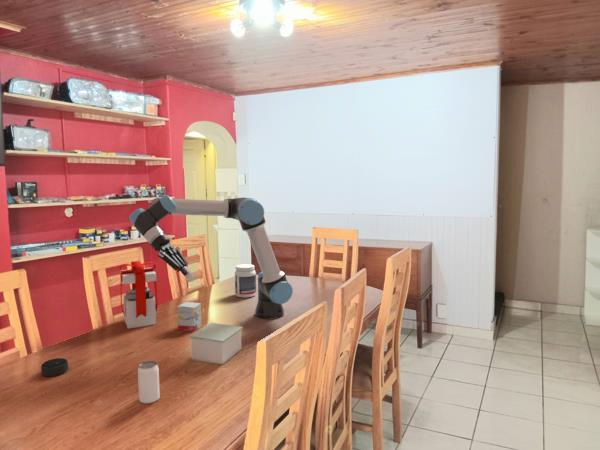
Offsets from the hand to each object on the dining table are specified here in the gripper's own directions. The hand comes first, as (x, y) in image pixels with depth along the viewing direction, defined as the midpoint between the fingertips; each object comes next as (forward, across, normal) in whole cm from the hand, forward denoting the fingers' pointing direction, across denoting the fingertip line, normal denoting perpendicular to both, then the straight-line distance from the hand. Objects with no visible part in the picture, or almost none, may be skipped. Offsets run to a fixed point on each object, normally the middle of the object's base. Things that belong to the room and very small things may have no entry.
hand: (192, 279), depth 189 cm
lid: (+24, +5, -5) cm, 25 cm away
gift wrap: (-10, -19, -51) cm, 56 cm away
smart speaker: (-5, +38, -47) cm, 61 cm away
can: (+28, +44, -14) cm, 54 cm away
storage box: (+30, +5, -11) cm, 33 cm away
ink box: (+10, -20, -32) cm, 39 cm away
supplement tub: (+11, -80, -31) cm, 87 cm away
